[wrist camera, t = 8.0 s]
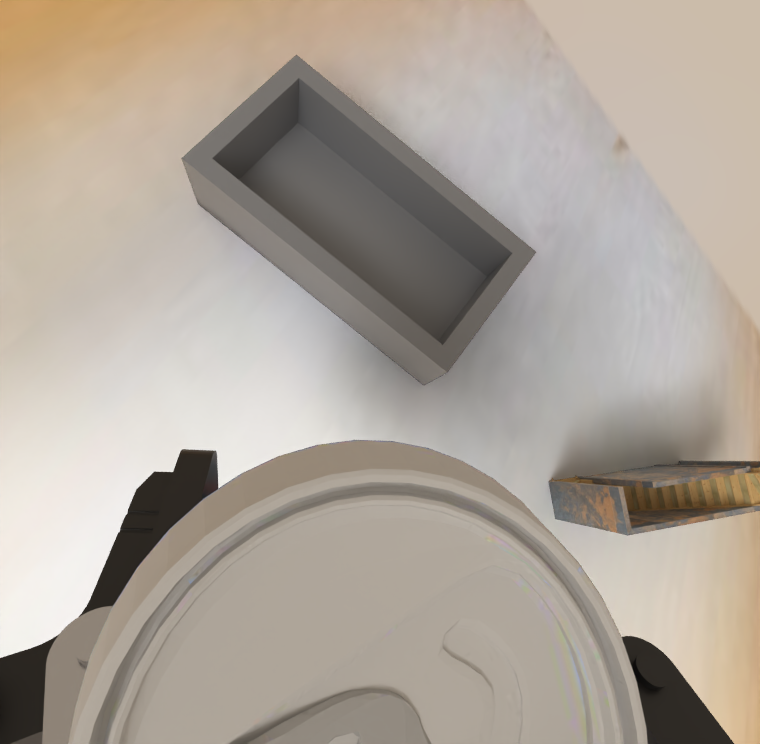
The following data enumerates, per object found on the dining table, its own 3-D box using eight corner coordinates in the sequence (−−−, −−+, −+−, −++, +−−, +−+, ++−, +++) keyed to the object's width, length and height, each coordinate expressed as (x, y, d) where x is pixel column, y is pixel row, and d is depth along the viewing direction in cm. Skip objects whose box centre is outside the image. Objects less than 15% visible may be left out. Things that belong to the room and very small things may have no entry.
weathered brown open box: (676, 455, 36) (814, 453, 26) (685, 495, 35) (829, 508, 26) (544, 474, 33) (643, 480, 24) (551, 518, 33) (656, 541, 23)
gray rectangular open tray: (198, 204, 32) (181, 158, 27) (295, 111, 34) (296, 54, 30) (424, 385, 32) (447, 372, 27) (502, 280, 35) (536, 252, 30)
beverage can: (346, 435, 19) (538, 356, 4) (391, 558, 18) (781, 930, 4) (220, 483, 18) (-94, 593, 3) (264, 616, 17) (132, 1500, 3)
